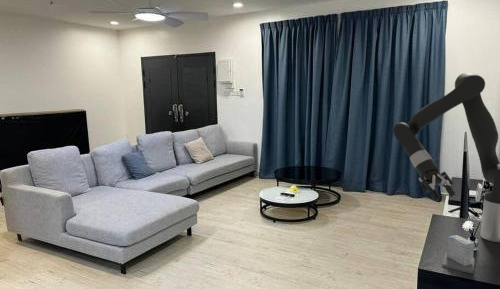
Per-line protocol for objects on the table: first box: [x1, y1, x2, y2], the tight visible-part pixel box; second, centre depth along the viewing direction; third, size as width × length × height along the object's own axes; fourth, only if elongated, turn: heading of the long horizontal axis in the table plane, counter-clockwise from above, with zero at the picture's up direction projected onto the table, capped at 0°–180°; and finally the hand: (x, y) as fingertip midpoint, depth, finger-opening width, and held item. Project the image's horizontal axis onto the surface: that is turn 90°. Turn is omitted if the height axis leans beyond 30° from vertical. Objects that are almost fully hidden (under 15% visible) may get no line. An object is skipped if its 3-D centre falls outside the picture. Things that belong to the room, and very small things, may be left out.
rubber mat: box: [441, 251, 476, 275], centre depth 138 cm, size 12×10×1 cm
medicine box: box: [446, 234, 475, 266], centre depth 137 cm, size 8×4×9 cm, turn 19°
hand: (445, 197), depth 143 cm, fingers open, 8 cm apart
